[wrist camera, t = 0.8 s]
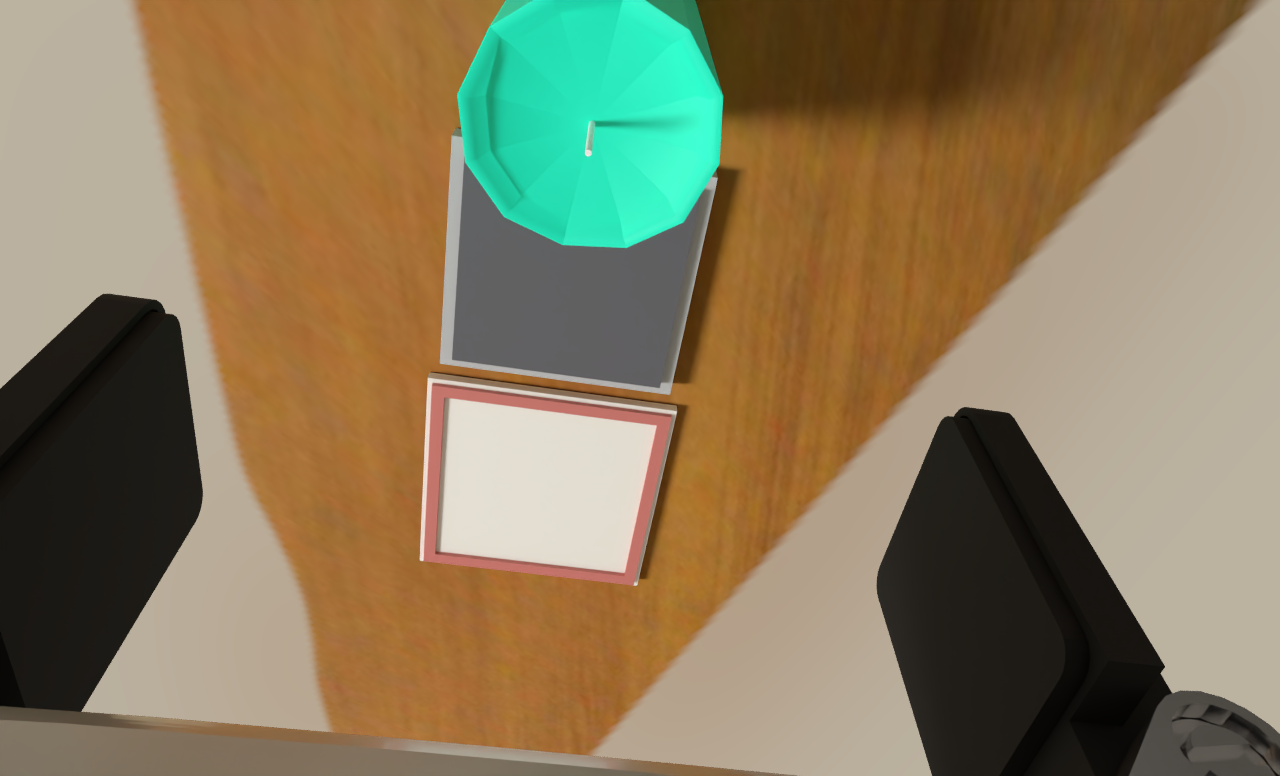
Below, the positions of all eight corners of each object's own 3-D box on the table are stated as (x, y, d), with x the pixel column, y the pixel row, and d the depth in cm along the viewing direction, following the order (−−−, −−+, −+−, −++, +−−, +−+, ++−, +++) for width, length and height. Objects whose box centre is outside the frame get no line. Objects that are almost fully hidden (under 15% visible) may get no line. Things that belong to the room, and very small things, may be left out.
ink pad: (455, 127, 31) (449, 139, 30) (716, 169, 32) (718, 182, 30) (443, 352, 36) (438, 369, 35) (669, 383, 36) (670, 400, 35)
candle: (737, 28, 29) (791, 154, 19) (606, 157, 31) (593, 330, 21) (602, -125, 27) (582, -74, 17) (471, 27, 29) (384, 151, 19)
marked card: (429, 372, 36) (427, 380, 36) (676, 405, 37) (677, 414, 36) (421, 554, 41) (418, 563, 41) (637, 579, 42) (636, 588, 42)
